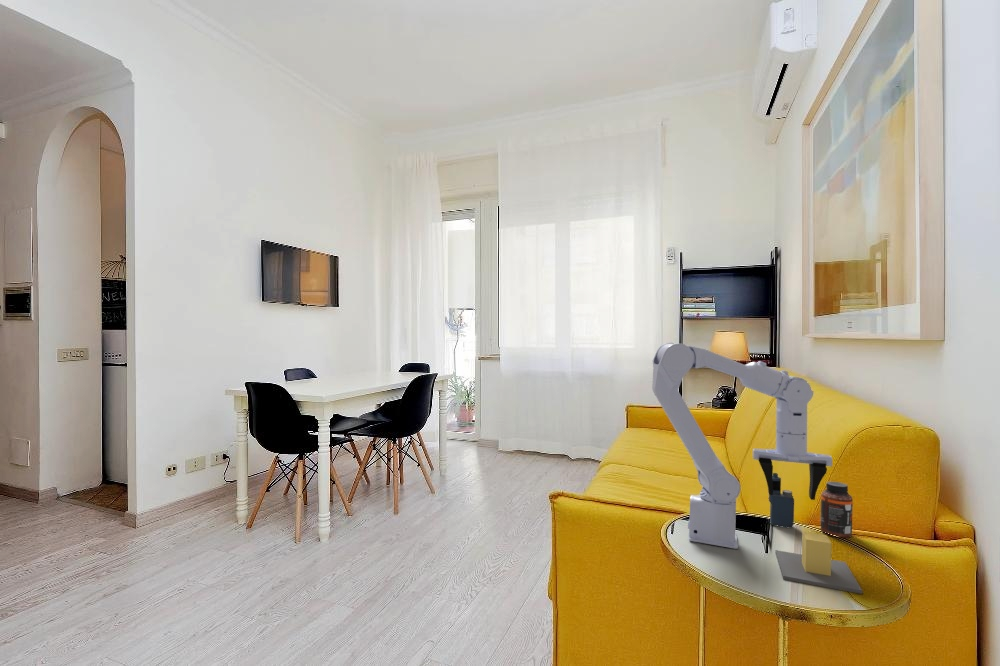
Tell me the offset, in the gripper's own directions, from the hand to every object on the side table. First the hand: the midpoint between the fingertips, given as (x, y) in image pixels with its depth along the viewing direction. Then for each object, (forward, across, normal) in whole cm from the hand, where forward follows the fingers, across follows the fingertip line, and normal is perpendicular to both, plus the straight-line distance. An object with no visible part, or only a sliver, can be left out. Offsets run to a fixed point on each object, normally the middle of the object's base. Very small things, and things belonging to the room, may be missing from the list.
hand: (791, 495), depth 106 cm
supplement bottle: (+11, +10, +12) cm, 19 cm away
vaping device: (+11, 0, +12) cm, 16 cm away
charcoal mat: (+10, +2, -12) cm, 16 cm away
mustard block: (+10, +2, -12) cm, 16 cm away
